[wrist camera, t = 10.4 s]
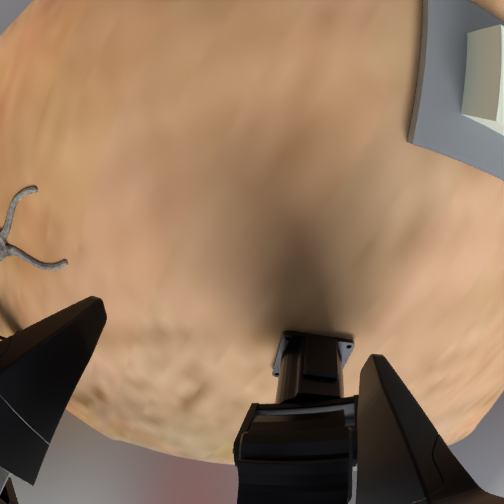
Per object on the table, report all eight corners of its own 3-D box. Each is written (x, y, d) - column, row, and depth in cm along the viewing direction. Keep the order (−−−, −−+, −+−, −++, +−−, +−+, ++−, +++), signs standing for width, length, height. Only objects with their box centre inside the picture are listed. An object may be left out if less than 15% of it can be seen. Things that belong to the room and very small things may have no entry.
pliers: (74, 262, 24) (13, 296, 31) (79, 257, 25) (16, 293, 32) (29, 178, 20) (-19, 242, 27) (35, 175, 21) (-15, 239, 28)
